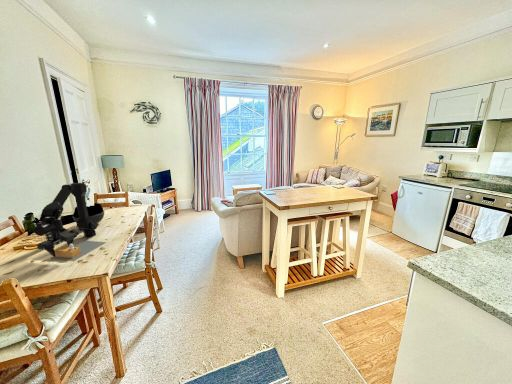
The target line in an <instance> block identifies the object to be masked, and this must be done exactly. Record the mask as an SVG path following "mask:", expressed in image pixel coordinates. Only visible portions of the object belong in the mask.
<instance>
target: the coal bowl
mask: <svg viewBox="0 0 512 384" xmlns="http://www.w3.org/2000/svg"><path fill="white" fill-rule="evenodd" d="M86 206H87V205H86ZM87 211H88V215H89V217H91V218H92V220H93V223H95V224H97V225H98V224H99V223H100V222H101V221H103V218H104V216H105V210H104V207H103V206H102V204H101V203H98V202H94V203H93V205H90V206H87ZM72 218H73V221H74V222H75V223H76V221H78V219H79V214H78V209H77V206H75V207H74V211H73V214H72Z"/></svg>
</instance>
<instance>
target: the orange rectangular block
mask: <svg viewBox="0 0 512 384" xmlns="http://www.w3.org/2000/svg"><path fill="white" fill-rule="evenodd" d="M73 247H74V246H73ZM54 251H55V256H58V257H68V258H74V257H76V256H78V255H79V254H81V251H80V248H79V247H74V250H73V251H70V247H69V246H68V245H67V246H66V245H62V246H59V247H57V248H54Z"/></svg>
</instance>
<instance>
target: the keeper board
mask: <svg viewBox="0 0 512 384" xmlns="http://www.w3.org/2000/svg"><path fill="white" fill-rule="evenodd" d="M105 244H107V241H94V240H84V241H82V242H80V243H78V244H77V245H74V244H69V246H68V247H70V251H73V250H74V247H79V248H80V251H81V254H79V255H78V256H76V257H74V258H68V257H58V256H55V257H53V256H52V257H50V260H60V261H67V262H68V261H69V262H75V261H77V260H79V259H80V258H82V257H83V256H86V255H87V254H89V253H91V252H93V251H94V250H96V249H98V248H99V247H101V246H104V245H105Z"/></svg>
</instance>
